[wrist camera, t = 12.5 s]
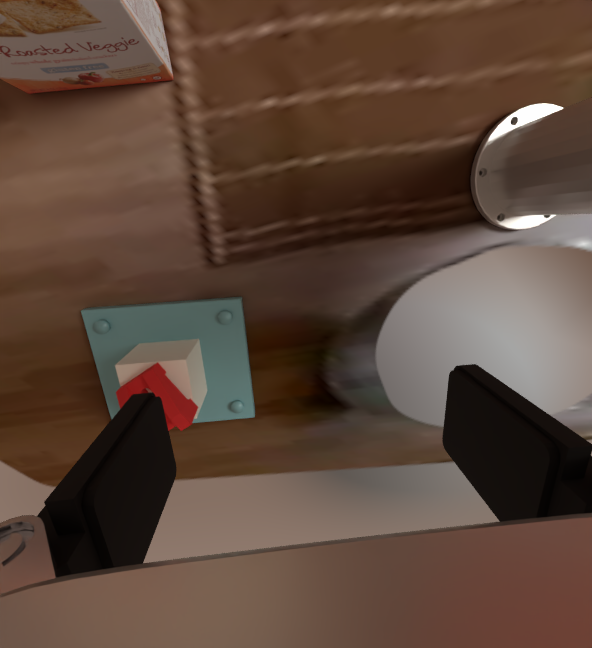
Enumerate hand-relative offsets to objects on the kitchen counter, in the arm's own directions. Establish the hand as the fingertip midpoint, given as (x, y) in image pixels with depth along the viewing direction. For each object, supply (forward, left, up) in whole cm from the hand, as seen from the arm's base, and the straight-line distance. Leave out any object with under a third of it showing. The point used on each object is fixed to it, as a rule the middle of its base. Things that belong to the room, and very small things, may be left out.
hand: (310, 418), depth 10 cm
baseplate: (+14, +10, -28) cm, 33 cm away
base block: (+14, +10, -27) cm, 32 cm away
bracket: (+14, +11, -21) cm, 27 cm away
